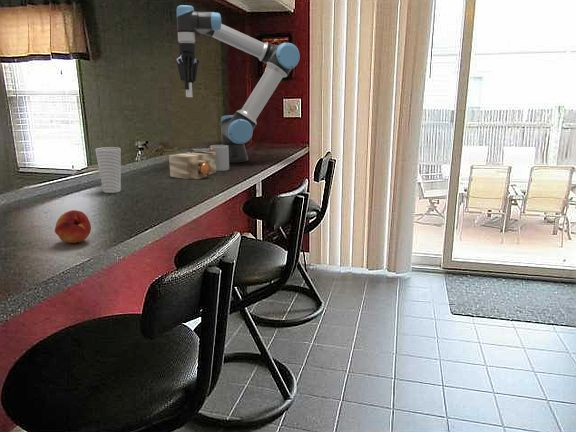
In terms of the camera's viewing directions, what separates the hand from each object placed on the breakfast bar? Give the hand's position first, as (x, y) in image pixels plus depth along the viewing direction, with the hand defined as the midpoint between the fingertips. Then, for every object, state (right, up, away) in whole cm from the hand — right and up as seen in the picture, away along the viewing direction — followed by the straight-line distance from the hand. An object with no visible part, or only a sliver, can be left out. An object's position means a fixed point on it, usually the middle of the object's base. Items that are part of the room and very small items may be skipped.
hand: (189, 97), depth 216 cm
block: (+6, -37, -14) cm, 40 cm away
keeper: (+9, -27, -12) cm, 31 cm away
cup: (-18, -46, -47) cm, 68 cm away
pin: (+5, -37, -18) cm, 41 cm away
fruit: (-6, -62, -103) cm, 121 cm away
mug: (+12, -34, +1) cm, 36 cm away
